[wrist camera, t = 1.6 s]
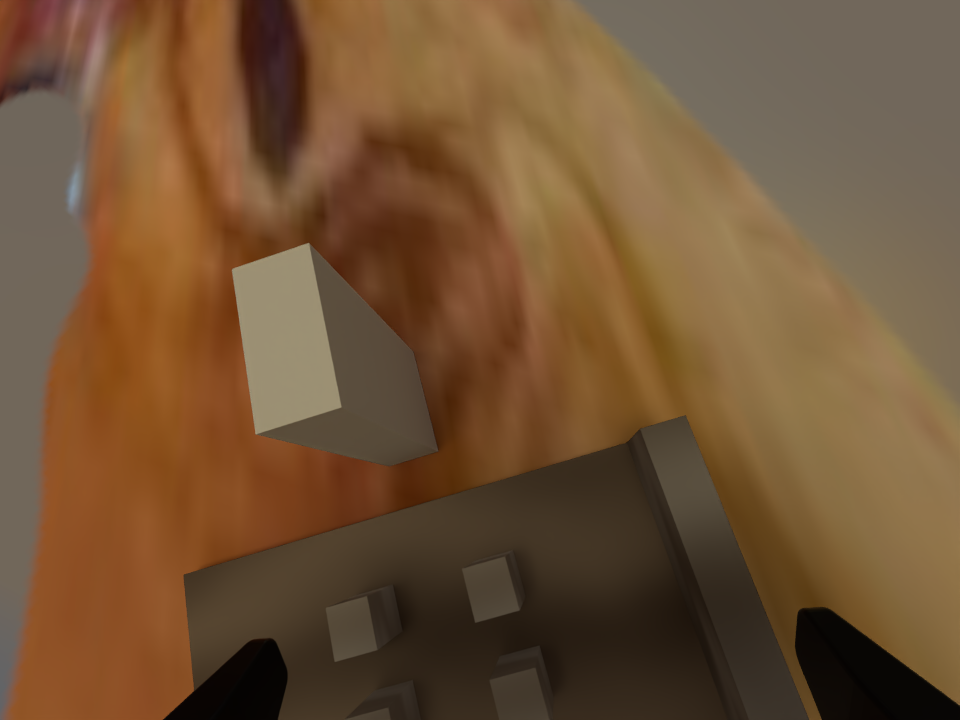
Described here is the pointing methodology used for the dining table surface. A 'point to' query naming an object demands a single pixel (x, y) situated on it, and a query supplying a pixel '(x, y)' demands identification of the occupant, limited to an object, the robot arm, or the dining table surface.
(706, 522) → the stand
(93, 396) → the dining table surface
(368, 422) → the rectangular block
